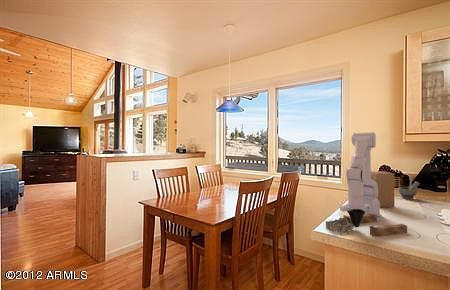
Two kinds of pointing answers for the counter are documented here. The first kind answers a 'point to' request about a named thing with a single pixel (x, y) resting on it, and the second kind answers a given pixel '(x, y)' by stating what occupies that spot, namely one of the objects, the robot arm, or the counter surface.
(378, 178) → the wooden block
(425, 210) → the counter surface
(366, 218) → the chute
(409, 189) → the mortar and pestle
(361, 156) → the robot arm
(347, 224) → the egg carton
